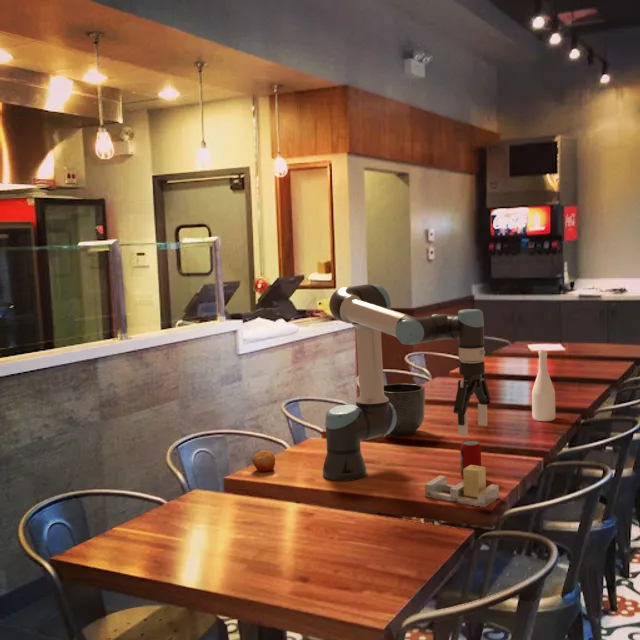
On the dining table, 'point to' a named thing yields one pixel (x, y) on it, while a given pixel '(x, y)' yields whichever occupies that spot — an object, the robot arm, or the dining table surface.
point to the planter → (406, 407)
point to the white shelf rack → (460, 492)
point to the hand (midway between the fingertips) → (473, 430)
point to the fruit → (264, 461)
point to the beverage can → (470, 454)
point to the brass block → (474, 480)
